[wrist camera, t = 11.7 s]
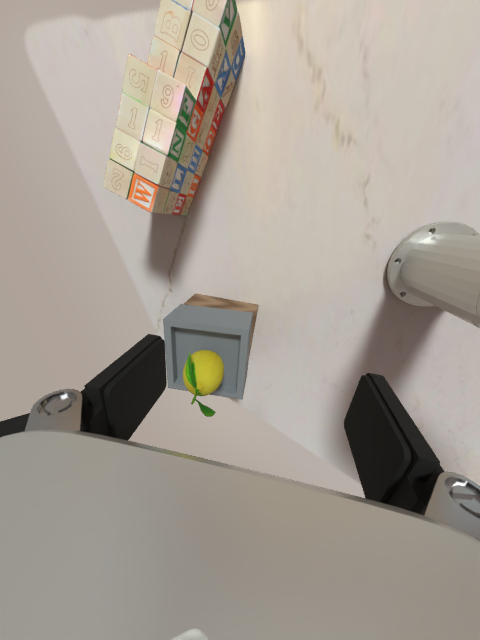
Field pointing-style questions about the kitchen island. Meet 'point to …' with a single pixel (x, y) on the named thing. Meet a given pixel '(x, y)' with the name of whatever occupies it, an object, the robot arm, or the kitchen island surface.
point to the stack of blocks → (175, 104)
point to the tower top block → (209, 344)
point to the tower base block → (224, 306)
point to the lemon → (203, 375)
